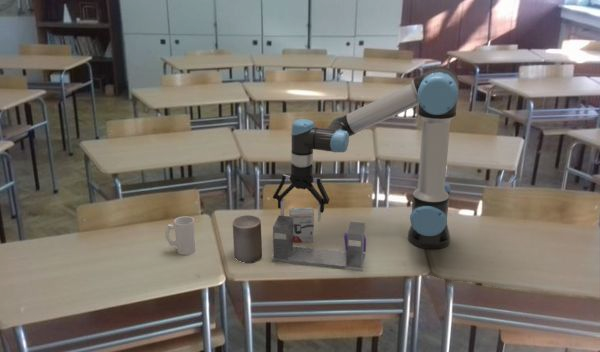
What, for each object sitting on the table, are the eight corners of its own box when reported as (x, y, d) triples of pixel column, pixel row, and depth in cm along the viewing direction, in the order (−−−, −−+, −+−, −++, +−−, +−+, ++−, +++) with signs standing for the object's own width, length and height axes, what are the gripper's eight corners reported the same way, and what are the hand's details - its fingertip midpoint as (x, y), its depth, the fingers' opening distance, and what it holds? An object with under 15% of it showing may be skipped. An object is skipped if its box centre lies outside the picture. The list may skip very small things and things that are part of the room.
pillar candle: (260, 248, 205) (259, 210, 199) (263, 262, 196) (262, 222, 190) (233, 251, 203) (231, 213, 198) (235, 265, 194) (232, 225, 189)
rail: (364, 256, 200) (366, 222, 195) (362, 271, 191) (364, 235, 186) (278, 248, 205) (277, 214, 200) (271, 261, 196) (271, 227, 191)
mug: (195, 245, 207) (193, 215, 202) (196, 254, 201) (194, 223, 196) (167, 248, 205) (164, 217, 201) (167, 257, 199) (164, 226, 194)
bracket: (365, 252, 203) (366, 235, 200) (346, 252, 203) (346, 235, 201) (362, 237, 214) (363, 220, 212) (344, 236, 214) (344, 220, 212)
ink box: (290, 243, 209) (290, 213, 204) (289, 236, 213) (289, 208, 209) (313, 242, 209) (314, 213, 205) (312, 236, 214) (312, 207, 210)
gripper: (338, 162, 202) (336, 217, 210) (269, 157, 206) (269, 210, 214) (335, 170, 195) (333, 226, 203) (264, 164, 199) (264, 219, 207)
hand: (300, 218), depth 208 cm, fingers open, 13 cm apart
